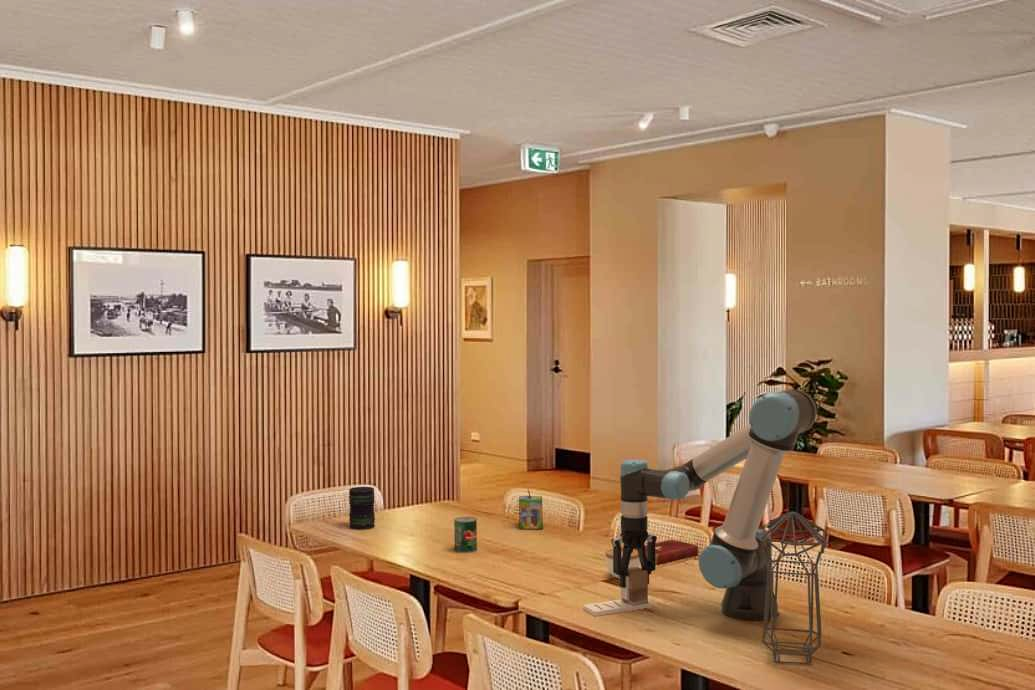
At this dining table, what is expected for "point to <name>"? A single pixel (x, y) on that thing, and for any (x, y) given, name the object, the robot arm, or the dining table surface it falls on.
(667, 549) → the hardcover book
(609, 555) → the lidded jar
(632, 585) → the eraser block
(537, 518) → the green juice box
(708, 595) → the dining table surface
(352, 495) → the storage jar
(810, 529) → the geometric lantern
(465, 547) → the canned tomato
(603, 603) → the board
